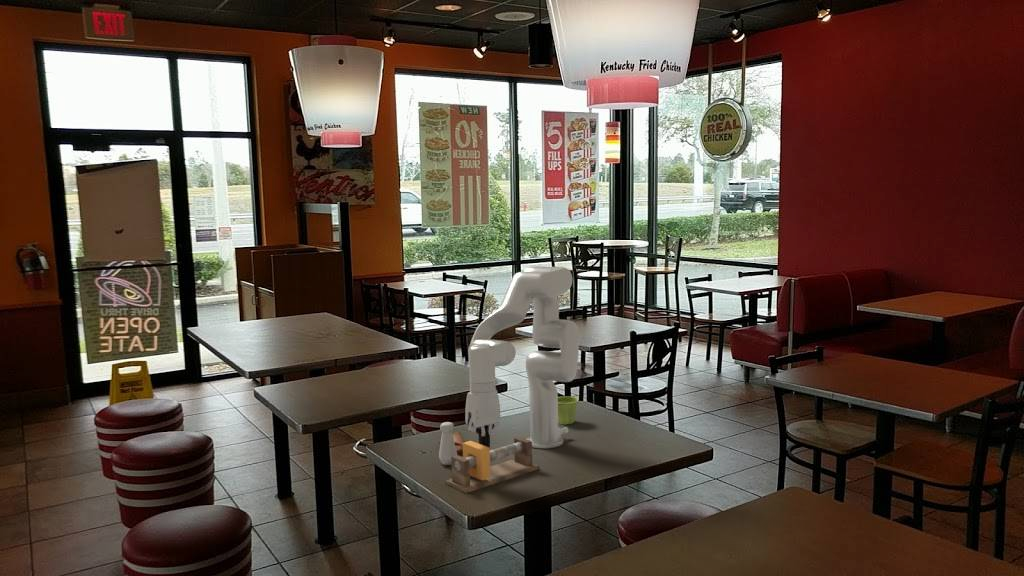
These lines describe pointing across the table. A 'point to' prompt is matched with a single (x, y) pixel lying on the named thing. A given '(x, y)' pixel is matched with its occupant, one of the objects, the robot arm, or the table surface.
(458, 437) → the sunglasses case
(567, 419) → the plant pot
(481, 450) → the collar
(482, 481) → the pipe stand
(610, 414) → the table surface
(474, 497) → the table surface
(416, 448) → the table surface
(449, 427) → the salt shaker
